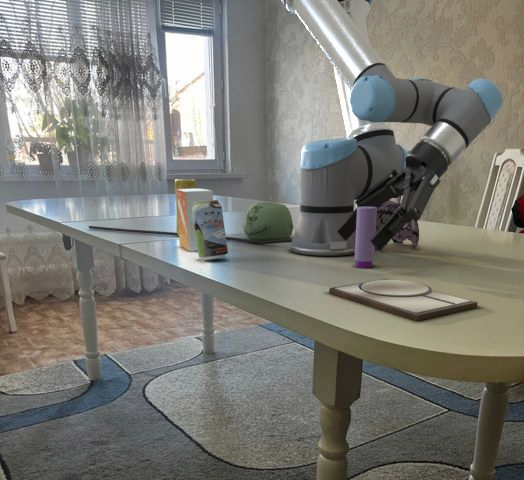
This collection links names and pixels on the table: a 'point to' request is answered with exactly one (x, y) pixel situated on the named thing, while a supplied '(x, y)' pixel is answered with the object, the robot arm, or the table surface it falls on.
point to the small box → (189, 215)
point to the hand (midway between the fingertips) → (356, 240)
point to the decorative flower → (406, 232)
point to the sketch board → (404, 298)
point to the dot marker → (365, 236)
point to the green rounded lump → (268, 222)
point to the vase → (183, 185)
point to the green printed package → (209, 229)
